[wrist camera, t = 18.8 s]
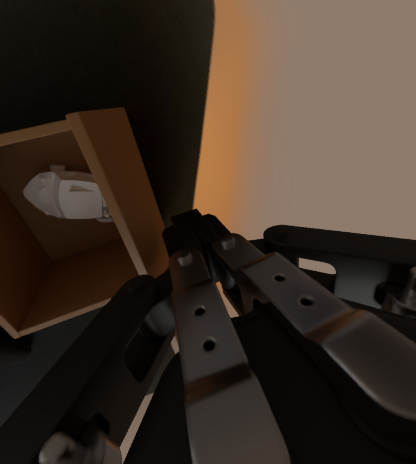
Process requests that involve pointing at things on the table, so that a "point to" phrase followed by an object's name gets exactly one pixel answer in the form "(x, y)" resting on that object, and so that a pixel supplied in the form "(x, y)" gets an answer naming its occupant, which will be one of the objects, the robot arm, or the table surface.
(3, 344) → the game controller
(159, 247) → the flap
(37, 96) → the table surface
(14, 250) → the brown open box
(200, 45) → the table surface
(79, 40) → the table surface
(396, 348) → the robot arm
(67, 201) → the toy car
